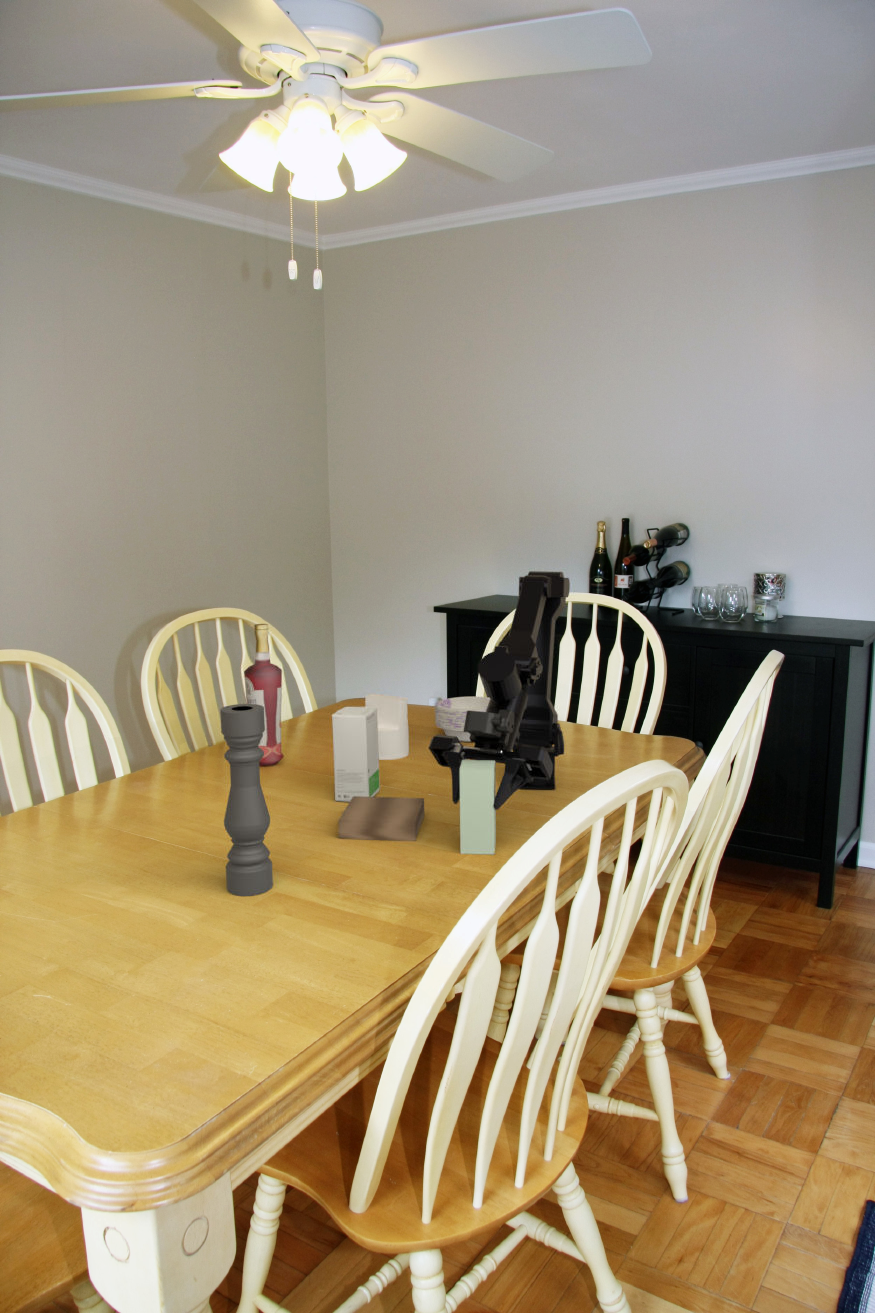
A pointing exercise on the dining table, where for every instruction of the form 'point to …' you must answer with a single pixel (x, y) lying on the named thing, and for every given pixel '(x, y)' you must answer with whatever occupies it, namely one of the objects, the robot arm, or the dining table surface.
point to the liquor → (266, 696)
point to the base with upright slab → (391, 725)
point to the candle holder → (246, 802)
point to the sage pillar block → (477, 807)
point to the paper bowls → (458, 714)
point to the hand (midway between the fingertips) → (474, 805)
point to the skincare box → (355, 752)
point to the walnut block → (382, 818)
